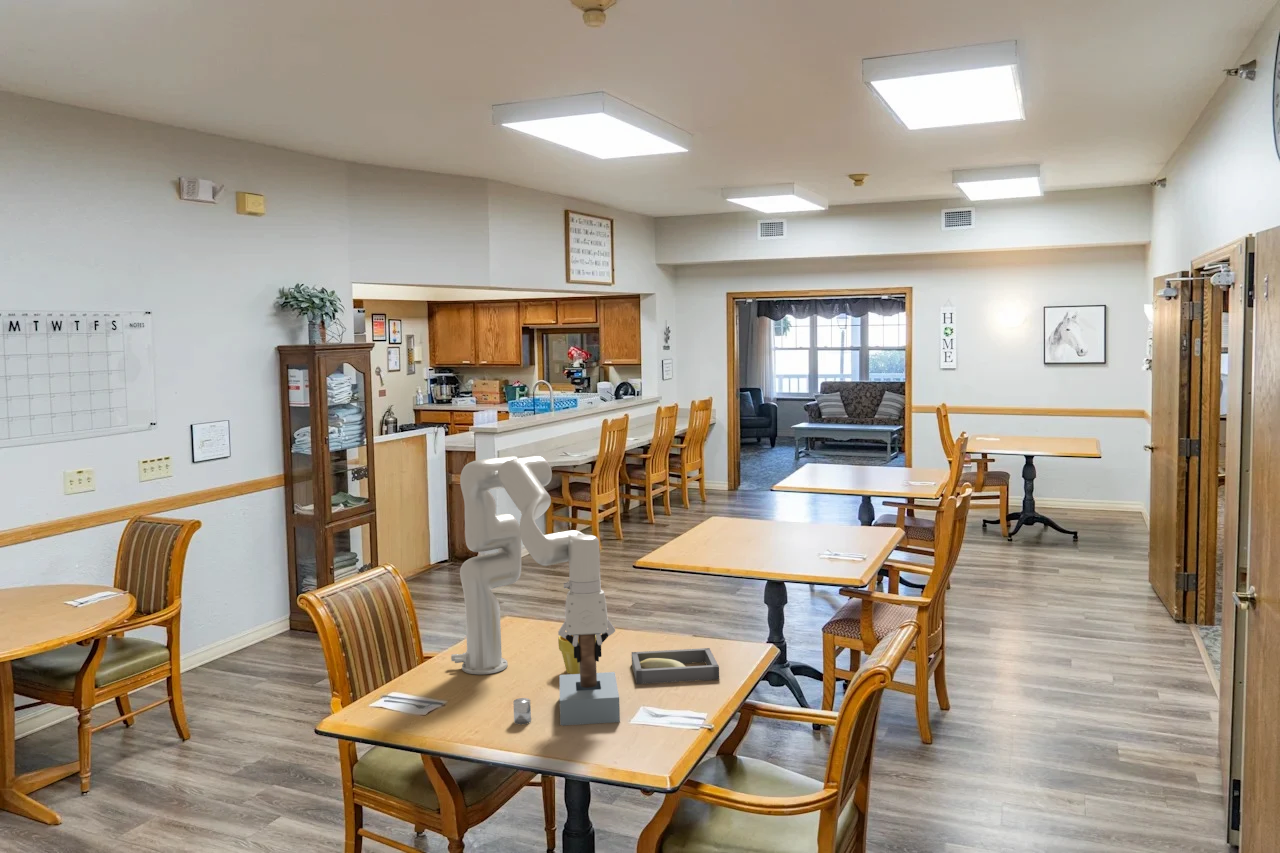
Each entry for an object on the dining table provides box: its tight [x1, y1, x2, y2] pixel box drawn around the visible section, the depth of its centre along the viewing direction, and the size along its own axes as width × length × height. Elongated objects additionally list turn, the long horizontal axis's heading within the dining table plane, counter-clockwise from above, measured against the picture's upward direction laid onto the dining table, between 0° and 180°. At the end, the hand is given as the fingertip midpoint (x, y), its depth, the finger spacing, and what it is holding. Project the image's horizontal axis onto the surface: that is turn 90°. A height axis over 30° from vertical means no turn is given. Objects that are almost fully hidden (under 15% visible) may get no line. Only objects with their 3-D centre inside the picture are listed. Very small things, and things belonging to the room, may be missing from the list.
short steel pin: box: [512, 697, 532, 726], centre depth 226 cm, size 4×4×5 cm
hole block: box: [559, 671, 621, 726], centre depth 232 cm, size 14×18×6 cm
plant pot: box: [558, 635, 597, 674], centre depth 261 cm, size 10×10×10 cm
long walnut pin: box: [579, 634, 598, 688], centre depth 231 cm, size 4×4×15 cm
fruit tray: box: [631, 647, 720, 685], centre depth 258 cm, size 22×16×4 cm
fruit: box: [640, 658, 686, 669], centre depth 258 cm, size 7×15×3 cm, turn 47°
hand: (587, 659), depth 232 cm, fingers closed on long walnut pin, 4 cm apart
